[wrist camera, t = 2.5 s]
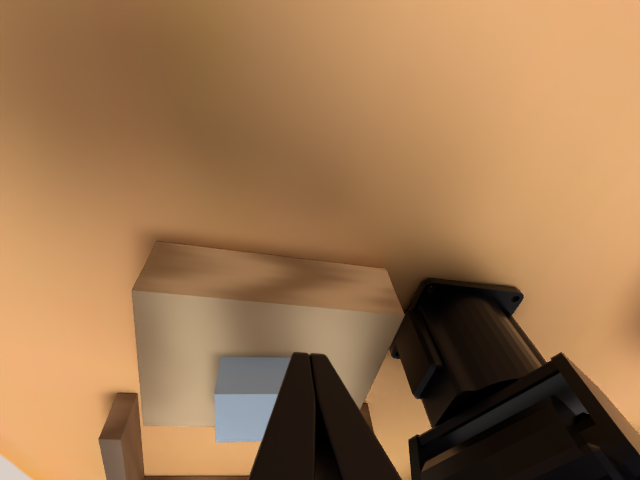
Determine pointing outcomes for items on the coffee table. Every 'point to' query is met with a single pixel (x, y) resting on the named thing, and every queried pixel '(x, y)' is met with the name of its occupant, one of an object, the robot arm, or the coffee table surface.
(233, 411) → the light blue square block
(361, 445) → the robot arm
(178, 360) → the beige rectangular block
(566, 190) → the coffee table surface
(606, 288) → the coffee table surface
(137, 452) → the dock bay
